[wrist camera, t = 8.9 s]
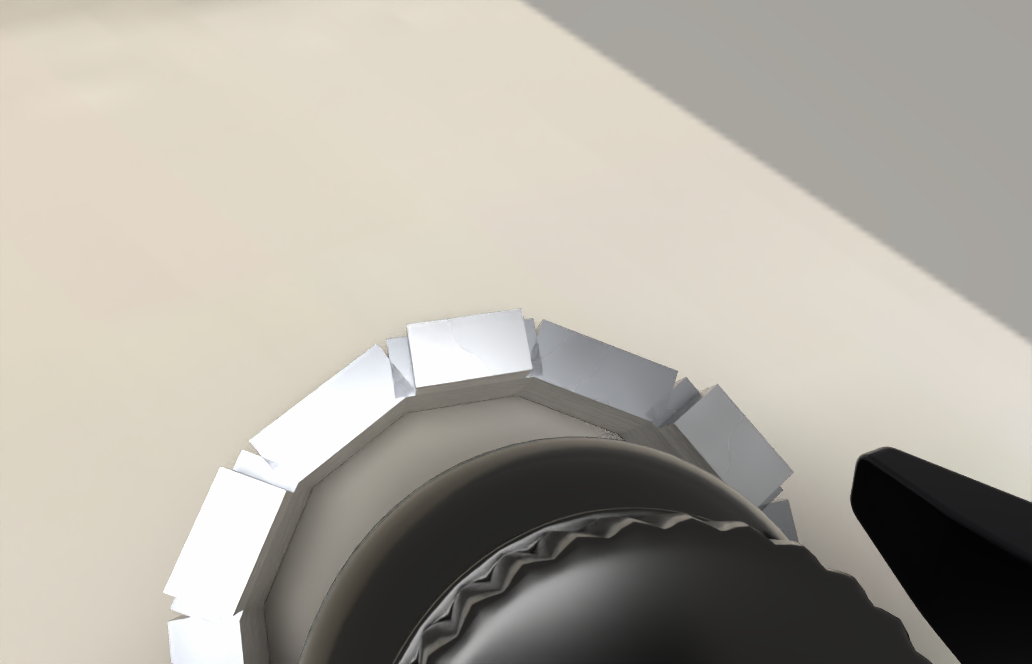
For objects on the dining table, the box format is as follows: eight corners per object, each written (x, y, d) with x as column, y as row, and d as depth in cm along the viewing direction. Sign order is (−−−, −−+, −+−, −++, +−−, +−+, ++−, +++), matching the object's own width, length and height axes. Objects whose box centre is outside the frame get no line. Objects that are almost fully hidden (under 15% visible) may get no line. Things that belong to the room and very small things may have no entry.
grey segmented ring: (459, 1090, 15) (476, 1258, 12) (87, 592, 16) (2, 613, 13) (863, 646, 18) (970, 676, 15) (528, 252, 19) (555, 195, 16)
